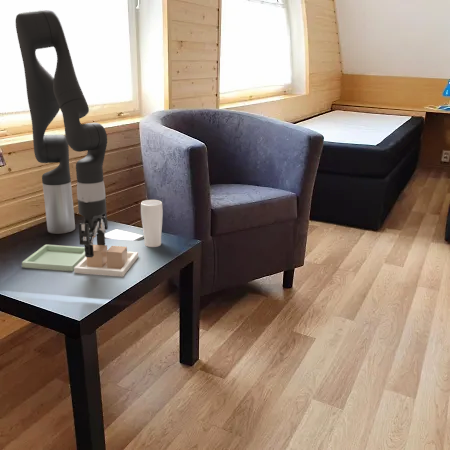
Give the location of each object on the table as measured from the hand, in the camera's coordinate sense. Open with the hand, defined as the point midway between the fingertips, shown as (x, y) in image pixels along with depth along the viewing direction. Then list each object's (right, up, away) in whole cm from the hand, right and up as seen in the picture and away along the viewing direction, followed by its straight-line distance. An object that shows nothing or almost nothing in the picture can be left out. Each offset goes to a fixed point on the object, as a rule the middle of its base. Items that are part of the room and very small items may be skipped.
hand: (95, 251), depth 136 cm
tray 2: (+3, -5, +2) cm, 6 cm away
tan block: (+6, -4, +1) cm, 7 cm away
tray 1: (-12, -4, +4) cm, 13 cm away
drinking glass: (+14, 0, +18) cm, 23 cm away
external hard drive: (+2, +2, +25) cm, 25 cm away
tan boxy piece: (0, -4, +2) cm, 4 cm away
